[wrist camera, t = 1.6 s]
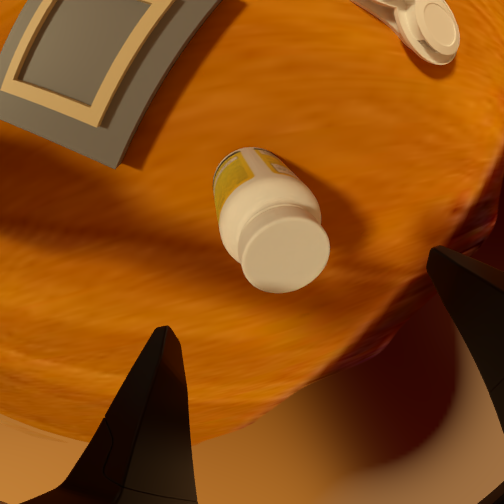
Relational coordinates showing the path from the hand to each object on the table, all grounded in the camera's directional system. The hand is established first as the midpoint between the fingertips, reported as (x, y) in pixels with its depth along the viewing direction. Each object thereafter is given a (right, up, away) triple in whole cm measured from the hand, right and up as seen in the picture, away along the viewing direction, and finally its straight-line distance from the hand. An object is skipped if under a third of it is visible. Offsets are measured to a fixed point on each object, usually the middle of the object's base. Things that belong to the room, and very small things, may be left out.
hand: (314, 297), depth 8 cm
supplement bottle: (-2, +7, +12) cm, 14 cm away
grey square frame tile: (-13, +15, +3) cm, 20 cm away
